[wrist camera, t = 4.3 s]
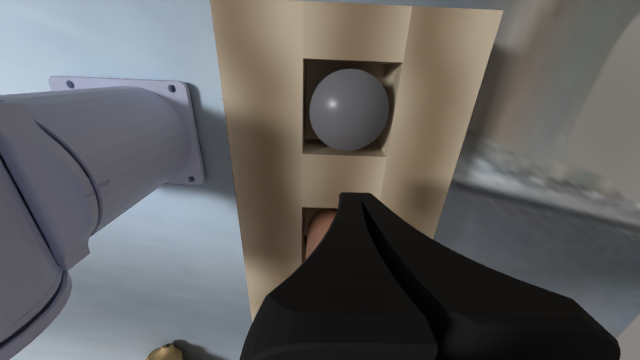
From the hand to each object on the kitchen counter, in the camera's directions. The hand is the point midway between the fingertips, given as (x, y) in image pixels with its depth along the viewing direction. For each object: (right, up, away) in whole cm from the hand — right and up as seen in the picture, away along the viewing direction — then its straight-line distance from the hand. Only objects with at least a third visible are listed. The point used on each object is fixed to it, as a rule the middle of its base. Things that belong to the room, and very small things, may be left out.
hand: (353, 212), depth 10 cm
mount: (0, -1, +11) cm, 11 cm away
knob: (0, +7, +6) cm, 9 cm away
